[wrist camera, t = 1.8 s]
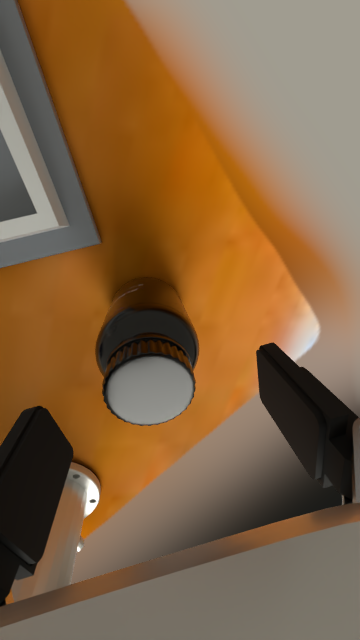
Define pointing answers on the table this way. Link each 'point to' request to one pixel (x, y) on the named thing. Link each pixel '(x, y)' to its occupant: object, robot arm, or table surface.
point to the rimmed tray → (34, 158)
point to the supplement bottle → (147, 353)
